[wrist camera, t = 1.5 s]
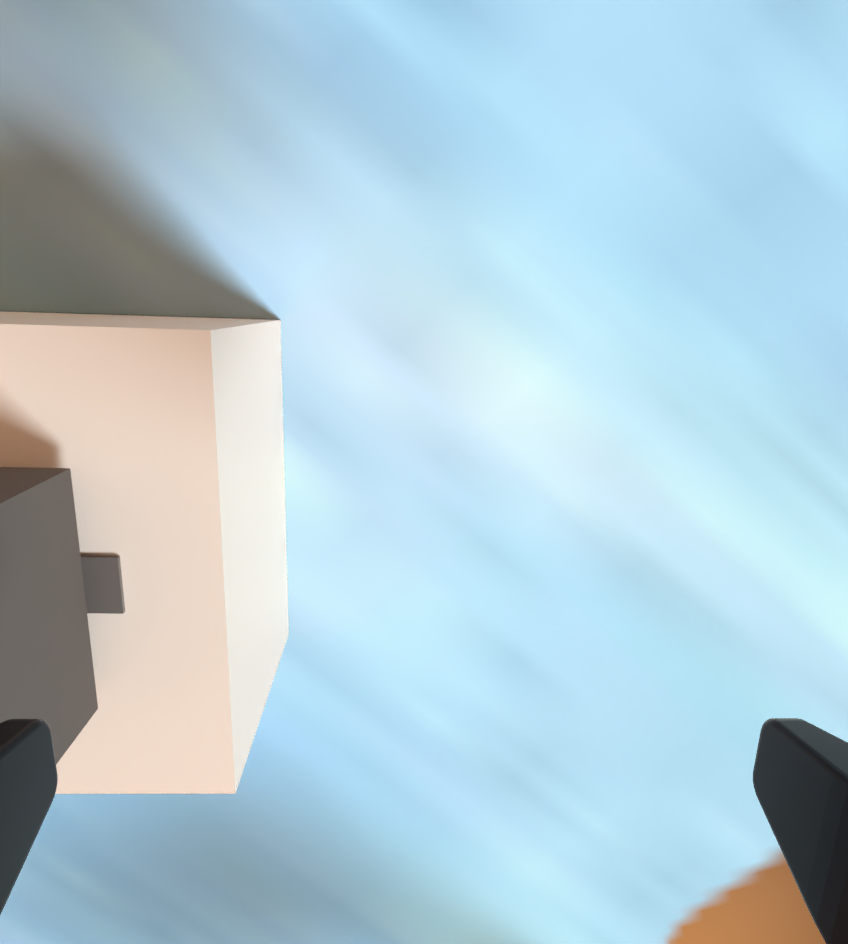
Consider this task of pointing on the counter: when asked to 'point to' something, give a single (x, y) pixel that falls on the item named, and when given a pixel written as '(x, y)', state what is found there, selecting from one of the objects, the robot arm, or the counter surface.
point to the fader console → (162, 530)
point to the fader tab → (43, 606)
